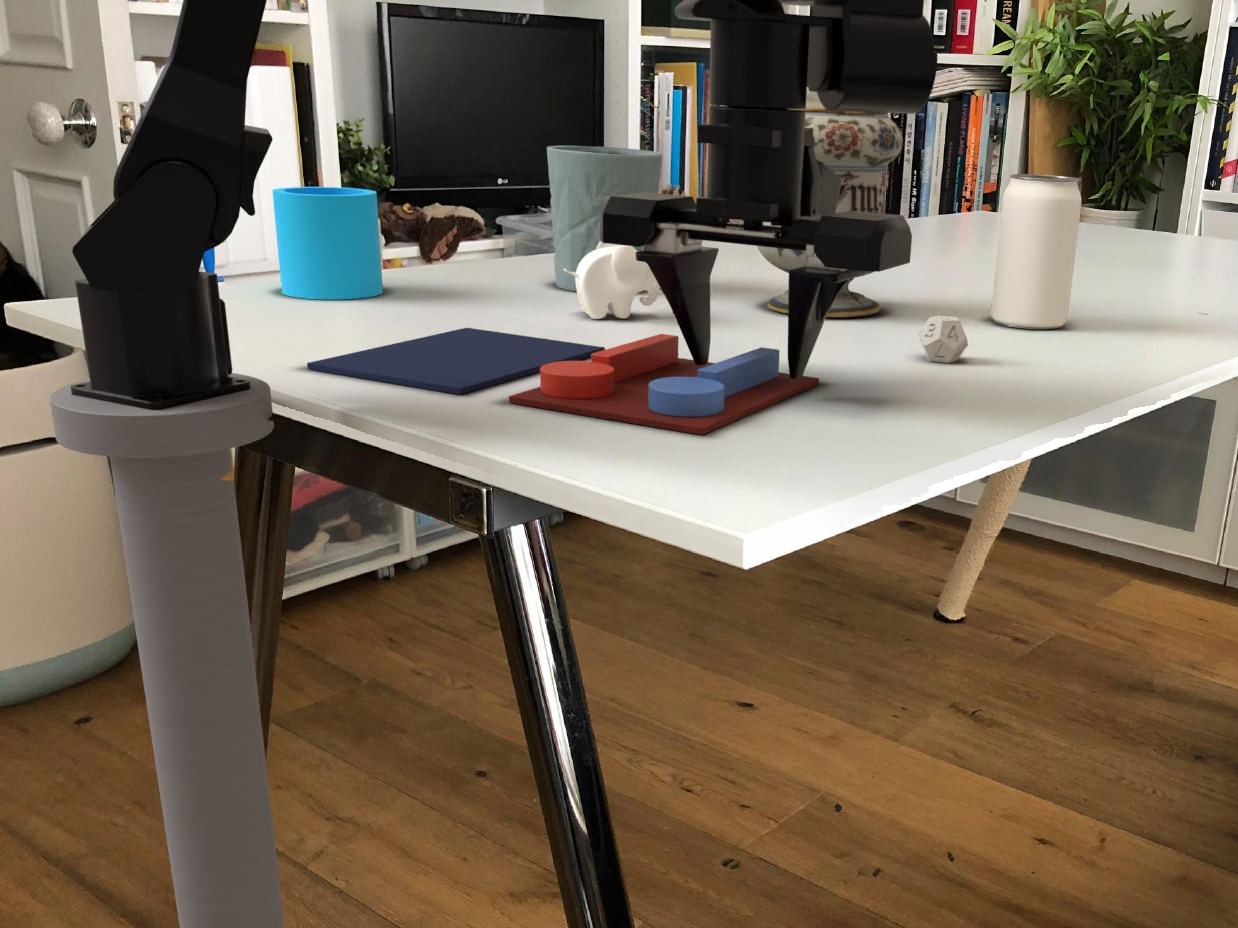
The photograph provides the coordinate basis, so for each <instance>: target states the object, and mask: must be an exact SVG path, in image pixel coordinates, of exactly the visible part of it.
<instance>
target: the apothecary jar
mask: <svg viewBox="0 0 1238 928" xmlns="http://www.w3.org/2000/svg"><path fill="white" fill-rule="evenodd" d="M795 110H805V111H806V115H805V128H813V136H814V138H815V143H814V152H815V157H816V160H818V161H821V162H823V163H824V164H826V165H827V166H828V167H829V168H830V169H831V170H832V171H833V172H834V173H835V174H836V175H838V176H839V177H840V178H841V180H842V182H841V187H840V192H839V198H838V203H837V208H836V213H841V212H847V211H859V212H870V213H881V214H886V187H887V174H888V165H889V164H890V163H891V162H893V161H894V160H895V159H897V157H898V156H899V155H900V153H901V152H902V149H903V146H904V137H903V134H902V131H901V129H900V128H899V126H898V125H897V124H896V123H895V122H894V121H893V120H892V119H891V117H889V113H880V112H856V111H831V110H827V109H826V108H824V107H823V105H822V104H821V102H820V100H819V97H818V94H817V92H811V91H809V88H808V86H807V94H806V109H795ZM763 225H767V226H772V225H771V222H763ZM778 227H781V226H778ZM780 235H781V234H780ZM756 247H757V249H758V251H759V253H760V254H761V255H762V257H763V258H764V259H765V261H767V262H768V263H769V264H771V265H772V266H774V267H775V268H777V269H779V270H781V271H783V272H785V273H787V274H789V270H791V269H795V268H799V267H804V266H806V259H807V257H806V251H802V250H793V249H783V248H773V247H764V246H756ZM873 273H874V272H867V274H866V275H862V276H859V277H858V278H860V277H865V276H867V275H870V274H873ZM854 279H855V278H852V279H849V281H848V282H847V283H846V284H845V286H844V287H843V288H842V289H841V291H840V292H839V294H838V296H837V297H836V299H835V301H834V303H833V305H832V306H831V308H830V310H829V312H828V314H827V316H826V318H835V319H836V318H843V319H845V318H860V317H868V316H872V315H876V314H878V313H880V311H881V309H882V308H881V305H880V304H879V303H878V302H877V301H875V300H873V299H872V298H870V297H867V296H865V295H864V294H862V293H859V292H856V291H852V290H850V289H849V284H850V283H851V282H852V281H853V280H854ZM788 295H789V289H787V290H786V291H784V292H783V294H780V295H777V296H774V297H771V299H770V300H768V302H767V308H768V309H770V310H772V311H774V312H778V313H782V314H787V315H788V302H789V301H788Z"/></svg>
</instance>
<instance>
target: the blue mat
mask: <svg viewBox="0 0 1238 928" xmlns="http://www.w3.org/2000/svg"><path fill="white" fill-rule="evenodd" d="M603 350H606V347H605V346H597V345H592V344H584V343H577V342H569V341H563V340H556V339H549V338H543V337H536V336H528V335H522V334H514V333H506V332H499V331H493V330H486V329H479V328H472V327H464V328H459V329H454V330H450V331H445V332H441V333H440V332H439V333H437V334H432V335H426V336H423V337H422V336H421V337H418V338H414V339H409V340H405V341H400V342H396V343H395V342H394V343H390V344H386V345H382V346H378V347H373V348H369V349H365V350H360V351H355V352H351V353H346V354H342V355H337V356H333V357H328V358H323V359H318V360H315V361H310V362H307V364H306V367H307V370H313V371H318V372H324V373H328V374H329V373H330V374H336V375H341V376H348V377H353V378H358V379H359V378H360V379H364V380H365V379H366V380H371V381H378V382H385V383H389V384H395V385H401V386H407V387H412V388H418V389H419V388H420V389H424V390H432V391H437V392H443V393H448V394H456V395H464V394H467V393H471V392H474V391H477V390H480V389H484V388H485V389H486V388H488V387H491V386H496V385H499V384H502V383H505V382H508V381H512V380H516V379H519V378H523V377H526V376H529V375H533V374H536V373H540V368H541V366H543V365H545V364H548V363H553V362H560V361H583V360H585V359H588V358H591V354H592V353H596V352H599V351H603Z"/></svg>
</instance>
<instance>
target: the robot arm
mask: <svg viewBox="0 0 1238 928" xmlns="http://www.w3.org/2000/svg"><path fill="white" fill-rule="evenodd" d="M267 2H268V0H182V4H181V9H180V13H179V17H178V21H177V26H176V30H175V33H174V34H175V35H174V39H173V42H172V47H171V50H170V53H169V56H168V58H167V60H166V61H165V64H164V66H163V69H162V70H161V73H160V75H159V77H158V79H157V81H156V83H155V85H154V87H153V90H151V91H152V92H151V94H150V96H149V98H148V100H147V102H146V105H145V106H144V108H143V110H142V112H141V115H140V116H139V119H138V120H137V123H136V126H135V127H134V130H133V132H132V135H131V137H130V139H129V141H128V143H127V146H126V148H125V149H124V152H123V154H122V157H121V158H120V161H119V163H118V166H117V168H116V171H115V174H114V177H113V188H112V189H113V191H112V195H113V199H114V200H113V201H112V202H111V203H110V205H108V206H107V207H106V208H105V209H104V210H103V211H102V213H100V214H99V216H98V217H97V218H96V219H94V221H93V222H92V223H91V224H89V226H88V227H87V228H86V230H85V231H84V232H83V234H82V235H81V236H80V237H79V239H78V240H77V242H76V243H75V244H74V245H73V246H72V250H71V251H72V256H73V257H74V259H75V261H76V263H77V265H78V266H79V268H80V270H81V272H82V273H83V275H84V277H85V278H80V279H75V280H74V284H75V290H76V291H75V292H76V297H77V303H78V311H79V317H80V323H81V329H82V330H81V331H82V336H83V343H84V350H85V356H86V363H87V371H88V375H89V379H90V382H85V383H80V384H75V385H72V386H70V387H71V393H72V395H76V396H81V397H86V398H91V399H96V400H101V401H107V402H112V403H117V404H122V405H127V406H132V407H137V408H143V409H148V410H163V409H168V408H172V407H176V406H181V405H185V404H189V403H193V402H198V401H202V400H206V399H211V398H215V397H219V396H223V395H228V394H232V393H236V392H241V391H245V390H249V389H251V386H250V381H249V380H245V379H240V378H234V377H228V375H231V374H232V373H233V364H232V363H233V362H232V354H231V353H232V352H231V343H230V334H229V327H228V317H227V309H226V302H225V301H224V299H222V298H220V290H219V289H220V288H219V280H218V279H219V278H218V273H215V272H208V271H201V270H200V269H201V265H202V261H203V258H204V254H205V253H206V252H208V251H210V250H212V249H214V248H216V247H218V246H220V245H221V244H223V243H225V242H226V240H227V239H228V238H229V237H230V236H231V235H232V233H233V231H234V229H235V227H236V225H237V222H238V220H239V217H240V213H241V212H240V211H241V209H242V210H243V211H244V212H245V213H246V214H247V215H248V216H250V217H253V216H255V215H256V208H255V207H256V206H255V201H254V189H255V181H256V178H257V175H258V173H259V171H260V168H261V167H262V164H263V162H264V160H265V158H266V156H267V154H268V152H269V149H270V147H271V144H272V142H273V136H272V134H271V133H270V130H269V129H267V128H264V127H257V126H253V125H246V110H247V91H248V90H247V89H248V78H249V75H250V70H251V66H252V63H253V62H252V61H253V57H254V54H255V50H256V46H257V41H258V37H259V35H260V34H259V33H260V29H261V25H262V21H263V17H264V13H265V9H266V5H267ZM924 4H925V0H682V1H681V2H680V3H678V4H676V6H675V8H674V15H675V16H676V18H677V19H679V20H688V21H689V20H691V21H702V22H703V21H706V22H710V36H709V37H710V40H709V41H710V43H709V46H710V47H709V85H708V86H709V88H708V93H709V94H708V104H709V105H708V123H699V124H697V144H707V171H706V173H707V174H706V175H707V177H706V196H701V197H696V198H695V199H694V197H693V196H690V195H679V194H670V193H659V192H658V193H648V192H646V193H636V194H627V195H617V196H610V198H609V199H608V201H607V202H606V204H605V206H604V208H603V210H602V212H601V214H600V242H602V243H608V244H617V245H626V246H636V247H640V246H642V251H638V252H636V254H635V255H636V260H637V261H641V262H645V263H647V264H648V266H649V268H650V270H651V271H652V273H653V275H654V277H655V279H656V280H657V282H658V284H659V286H660V291H661V292H663V293H662V294H663V295H664V297H665V299H666V301H667V302H668V304H669V307H670V309H671V311H672V314H673V316H674V318H675V321H676V322H677V325H678V328H679V330H680V332H681V334H682V337H683V339H684V341H685V343H686V346H687V348H688V351H689V353H690V356H691V357H692V360H694V362H695V364H696V365H700V366H701V365H704V364H707V362H709V358H710V348H711V337H712V336H711V276H712V272H713V269H714V266H715V262H716V260H717V257H718V254H719V247H711V246H709V247H708V246H703V241H705V242H706V241H708V242H715V243H716V242H717V243H725V244H736V245H745V246H755V247H757V246H764V247H773V248H783V249H793V250H802V251H806V257H807V259H806V266H804V267H799V268H795V269H791V270H789V273H788V290H789V295H788V301H789V302H788V314H787V365H788V374H790V378H791V379H798V378H800V377H802V376H804V374H805V371H806V368H807V365H808V363H809V361H810V359H811V356H812V354H813V351H814V348H815V346H816V344H817V341H818V338H819V336H820V333H821V331H822V329H823V326H824V323H825V321H826V318H827V317H826V316H827V314H828V312H829V310H830V308H831V306H832V305H833V303H834V301H835V299H836V297H837V296H838V294H839V292H840V291H841V289H842V288H843V287H844V286H845V284H846V283H847V282H848V281H849V279H852V278H854V279H856V278H860V277H863V276H862V275H864V276H867V275H868V274H867V272H873V273H876V272H877V273H879V272H883V271H887V270H889V269H893V268H897V267H900V266H904V265H907V264H910V263H911V255H912V254H911V253H912V243H913V242H912V241H913V234H912V229H911V227H910V224H909V223H908V222H907V219H906V218H905V217H904V215H902V214H893V213H885V214H881V213H870V212H859V211H847V212H841V213H836V208H837V203H838V198H839V192H840V187H841V182H842V180H841V178H840V177H839V176H838V175H836V174H835V173H834V172H833V171H832V170H831V169H830V168H829V167H828V166H827V165H826V164H824V163H823V162H821V161H818V160H816V157H815V152H814V143H815V138H814V136H813V128H805V115H806V111H805V110H795V109H806V94H807V87H808V88H809V91H811V92H817V94H818V97H819V100H820V102H821V104H822V105H823V107H824V108H826V109H827V110H831V111H856V112H880V113H888V114H905V115H908V114H909V115H914V114H916V113H919V112H920V111H921V110H922V109H923V108H924V107H925V106H926V104H927V102H928V100H929V99H930V96H931V94H932V92H933V88H934V85H935V81H936V76H937V69H938V57H939V56H938V52H937V51H935V42H934V41H935V40H934V36H933V30H932V28H931V25H930V23H929V22H930V21H928V20H927V17H926V16H925V15H924V6H925V5H924ZM783 5H784V6H785V5H786V6H787V5H788V6H801V7H809V6H810V7H811V10H812V13H811V15H805V14H793V13H786V11H785V9H784V6H783ZM728 219H731V220H740V221H743V222H735V221H733V222H727V220H728ZM763 222H771V225H772V226H767V225H763ZM778 226H781V227H778ZM780 234H781V235H780ZM866 274H867V275H866ZM859 276H860V277H859Z"/></svg>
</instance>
